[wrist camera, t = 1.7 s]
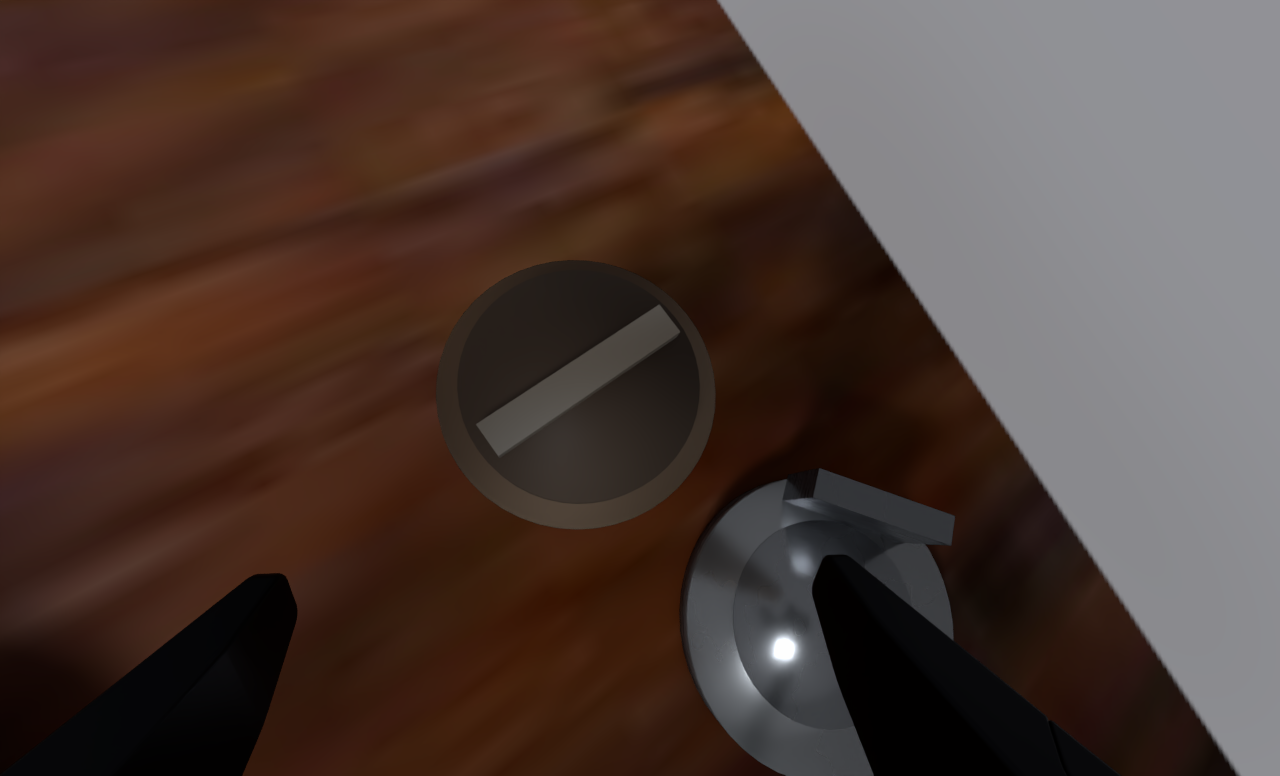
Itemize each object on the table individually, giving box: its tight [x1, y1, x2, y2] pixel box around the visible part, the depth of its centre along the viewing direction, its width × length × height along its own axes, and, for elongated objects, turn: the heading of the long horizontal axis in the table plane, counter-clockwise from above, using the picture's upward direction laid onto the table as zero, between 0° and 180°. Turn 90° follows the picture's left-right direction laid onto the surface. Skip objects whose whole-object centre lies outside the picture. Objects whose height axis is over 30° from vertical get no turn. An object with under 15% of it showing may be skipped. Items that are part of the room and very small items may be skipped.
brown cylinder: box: [436, 260, 715, 529], centre depth 14 cm, size 5×5×12 cm
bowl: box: [679, 468, 955, 776], centre depth 18 cm, size 10×10×4 cm
